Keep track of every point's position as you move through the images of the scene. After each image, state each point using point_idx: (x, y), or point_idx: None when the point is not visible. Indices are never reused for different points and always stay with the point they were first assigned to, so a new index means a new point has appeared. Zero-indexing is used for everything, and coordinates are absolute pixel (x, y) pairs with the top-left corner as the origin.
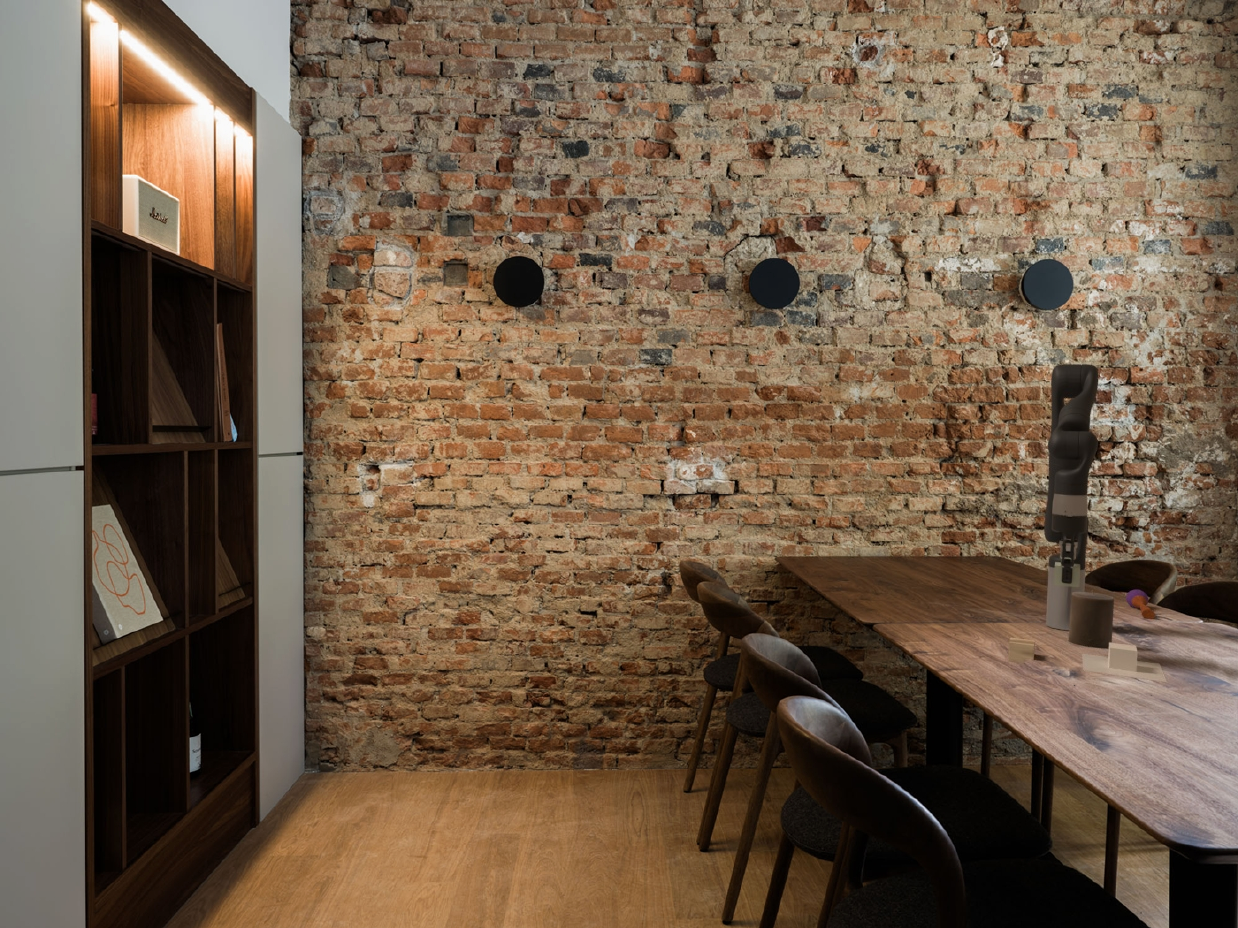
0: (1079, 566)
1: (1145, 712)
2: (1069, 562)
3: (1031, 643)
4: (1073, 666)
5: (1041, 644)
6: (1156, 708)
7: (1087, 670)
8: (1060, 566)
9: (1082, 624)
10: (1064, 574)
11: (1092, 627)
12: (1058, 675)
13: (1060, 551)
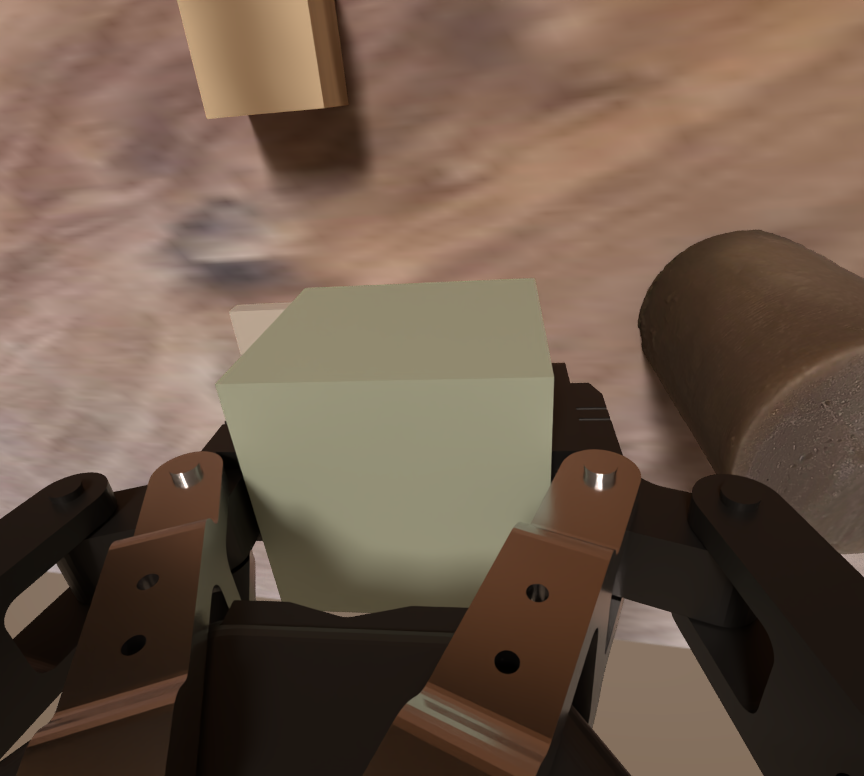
0: (361, 607)
1: (4, 449)
2: (69, 583)
3: (244, 99)
4: (344, 269)
5: (688, 102)
6: (63, 471)
7: (239, 324)
8: (237, 441)
9: (690, 331)
10: (222, 433)
11: (672, 371)
12: (167, 226)
13: (97, 612)
